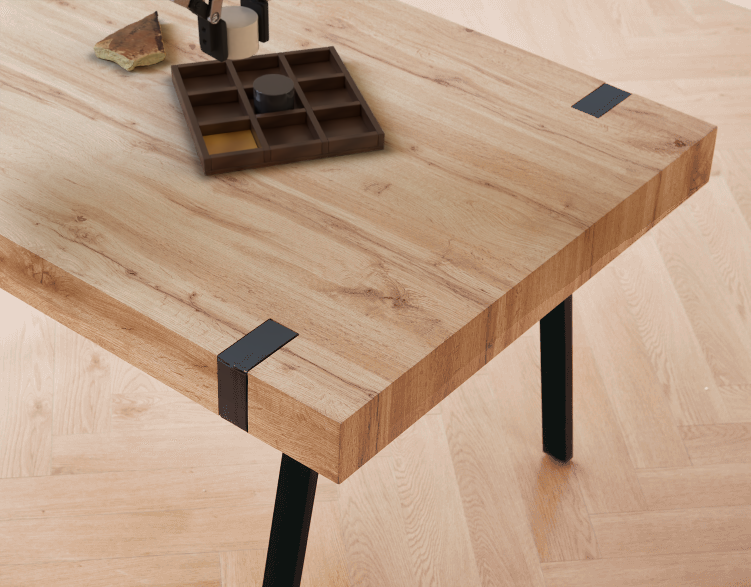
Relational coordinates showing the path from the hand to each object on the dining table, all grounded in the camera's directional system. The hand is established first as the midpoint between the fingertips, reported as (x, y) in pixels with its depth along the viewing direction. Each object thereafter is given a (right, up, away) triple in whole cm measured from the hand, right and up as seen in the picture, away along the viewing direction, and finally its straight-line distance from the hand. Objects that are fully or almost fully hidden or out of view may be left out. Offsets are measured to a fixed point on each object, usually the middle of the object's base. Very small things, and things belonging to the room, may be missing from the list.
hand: (235, 44), depth 100 cm
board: (+2, -4, +17) cm, 18 cm away
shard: (-16, +6, +26) cm, 31 cm away
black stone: (+2, -3, +17) cm, 17 cm away
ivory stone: (0, 0, 0) cm, 0 cm away
